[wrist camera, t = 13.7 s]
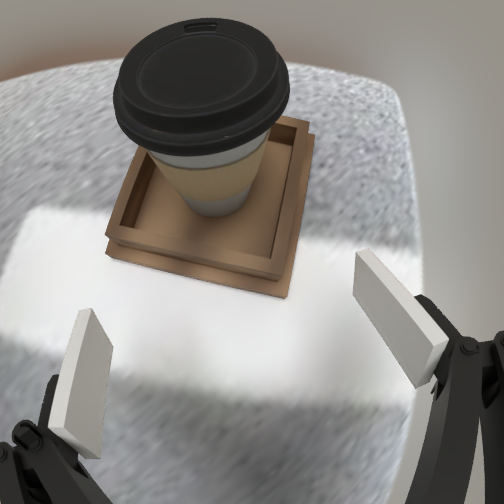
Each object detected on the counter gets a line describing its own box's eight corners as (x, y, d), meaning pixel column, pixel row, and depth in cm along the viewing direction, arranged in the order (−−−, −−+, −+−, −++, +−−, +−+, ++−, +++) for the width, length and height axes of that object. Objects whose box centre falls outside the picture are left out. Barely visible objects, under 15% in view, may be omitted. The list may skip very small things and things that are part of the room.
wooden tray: (111, 257, 27) (90, 244, 23) (164, 116, 31) (155, 89, 27) (284, 298, 27) (292, 291, 22) (312, 143, 31) (321, 116, 26)
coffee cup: (237, 130, 29) (237, -2, 14) (290, 207, 27) (334, 85, 13) (148, 172, 28) (88, 53, 13) (192, 259, 26) (135, 170, 11)
